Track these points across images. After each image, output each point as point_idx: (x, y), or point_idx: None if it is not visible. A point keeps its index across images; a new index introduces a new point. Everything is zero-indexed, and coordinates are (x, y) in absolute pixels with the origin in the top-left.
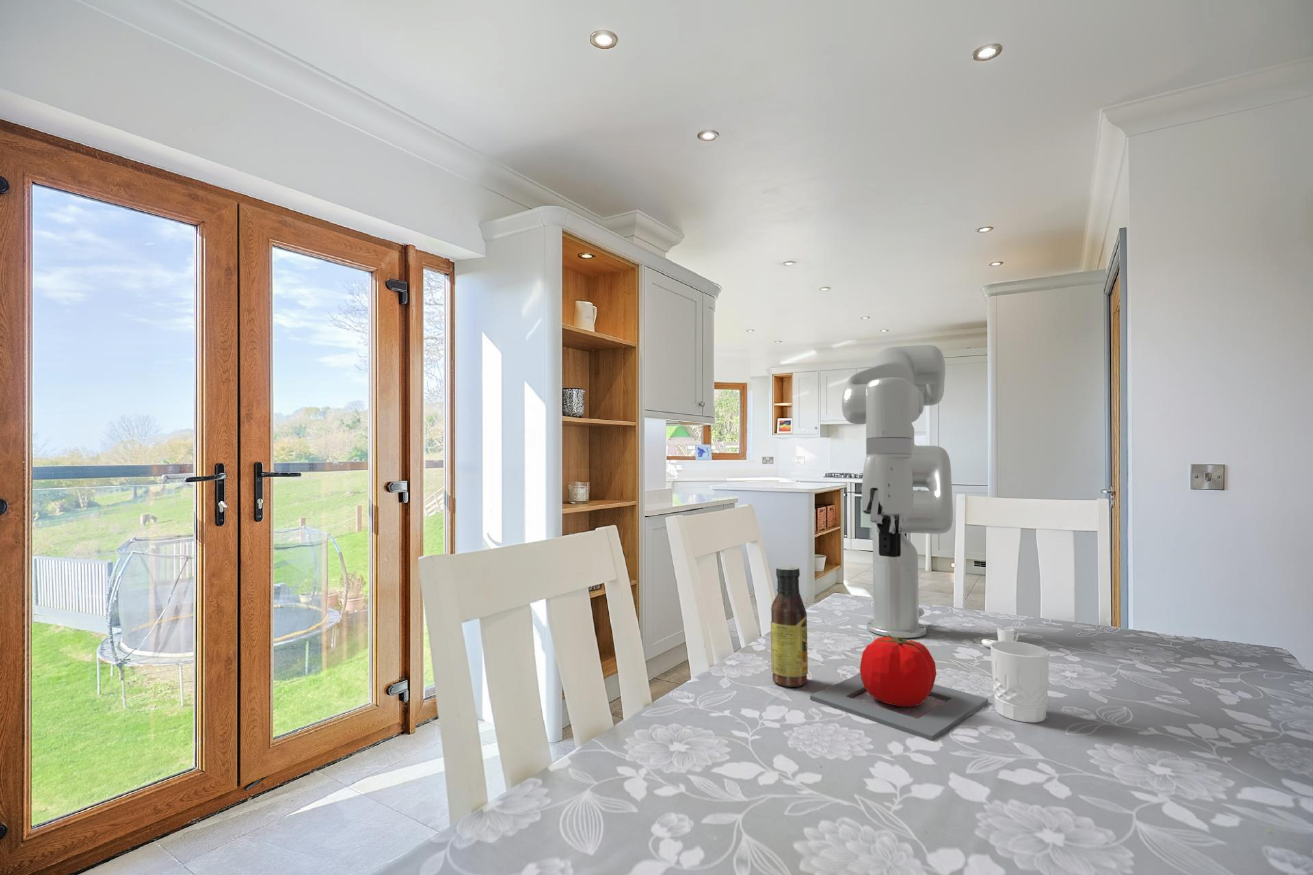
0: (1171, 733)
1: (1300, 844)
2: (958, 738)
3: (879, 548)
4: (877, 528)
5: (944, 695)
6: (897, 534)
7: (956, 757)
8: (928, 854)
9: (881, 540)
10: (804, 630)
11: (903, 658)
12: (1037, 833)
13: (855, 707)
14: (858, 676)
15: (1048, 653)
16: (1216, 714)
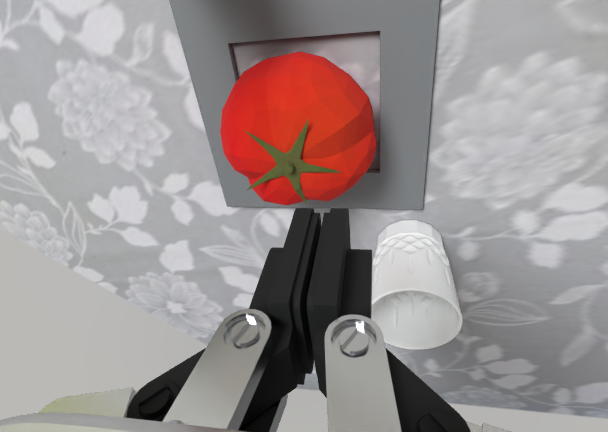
0: (474, 349)
1: (307, 388)
2: (263, 219)
3: (289, 231)
4: (217, 336)
5: (381, 160)
6: (303, 379)
7: (218, 233)
8: (78, 266)
9: (259, 287)
10: None
11: (251, 184)
12: (170, 302)
13: (205, 89)
14: None
15: (416, 349)
16: (587, 376)
